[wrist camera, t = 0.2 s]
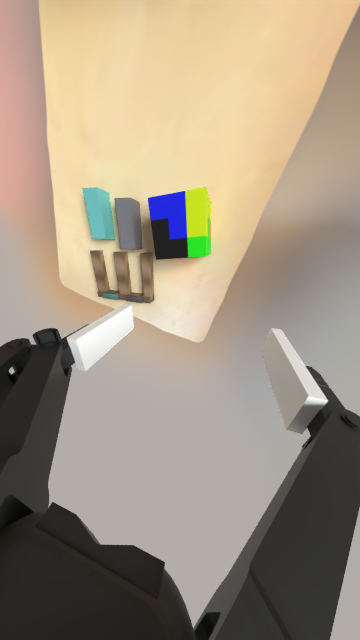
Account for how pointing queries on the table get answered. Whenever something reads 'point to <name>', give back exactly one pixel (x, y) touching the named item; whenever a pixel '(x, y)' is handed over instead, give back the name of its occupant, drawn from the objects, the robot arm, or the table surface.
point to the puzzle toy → (181, 224)
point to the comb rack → (124, 277)
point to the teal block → (99, 213)
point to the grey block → (129, 223)
